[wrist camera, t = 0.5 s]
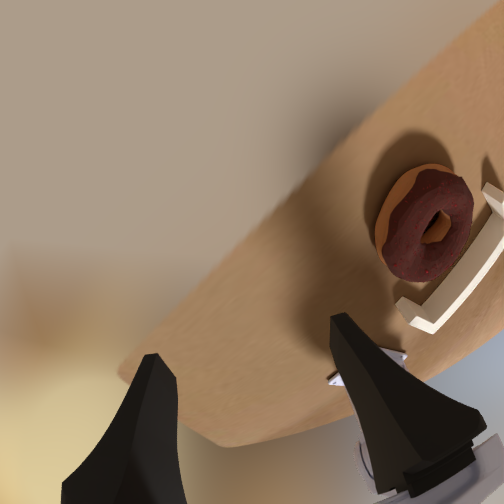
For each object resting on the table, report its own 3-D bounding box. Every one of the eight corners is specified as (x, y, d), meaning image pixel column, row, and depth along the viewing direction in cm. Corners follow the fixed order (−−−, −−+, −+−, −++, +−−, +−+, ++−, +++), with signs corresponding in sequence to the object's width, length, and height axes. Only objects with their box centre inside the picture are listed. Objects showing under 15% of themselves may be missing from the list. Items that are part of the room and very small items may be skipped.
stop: (501, 212, 21) (518, 225, 19) (421, 317, 28) (432, 334, 26) (486, 181, 19) (507, 194, 17) (395, 304, 26) (408, 324, 23)
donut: (434, 135, 17) (470, 149, 13) (463, 215, 21) (489, 236, 18) (346, 214, 19) (371, 242, 16) (393, 280, 24) (414, 308, 21)
